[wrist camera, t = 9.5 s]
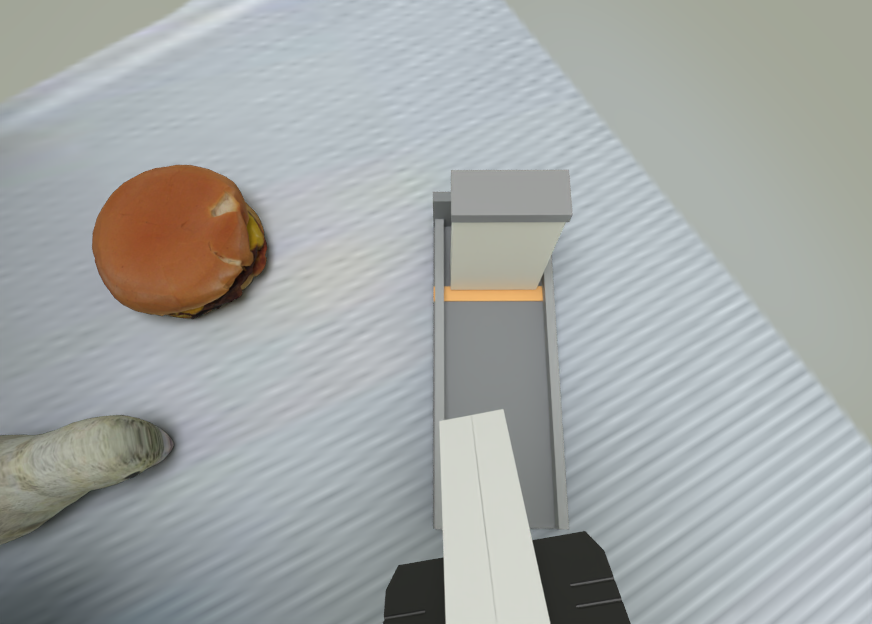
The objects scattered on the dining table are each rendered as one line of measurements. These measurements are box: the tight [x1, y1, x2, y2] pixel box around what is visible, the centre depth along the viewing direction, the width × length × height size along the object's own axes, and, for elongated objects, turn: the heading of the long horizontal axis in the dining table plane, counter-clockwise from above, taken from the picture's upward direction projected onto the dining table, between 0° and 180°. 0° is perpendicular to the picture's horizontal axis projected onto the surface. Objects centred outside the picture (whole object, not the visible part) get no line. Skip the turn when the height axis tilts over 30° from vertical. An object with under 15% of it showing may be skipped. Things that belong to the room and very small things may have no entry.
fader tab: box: [450, 170, 572, 290], centre depth 31 cm, size 2×5×10 cm, turn 90°
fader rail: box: [433, 192, 569, 529], centre depth 33 cm, size 18×7×4 cm, turn 0°
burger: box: [92, 165, 267, 319], centre depth 35 cm, size 10×9×5 cm
